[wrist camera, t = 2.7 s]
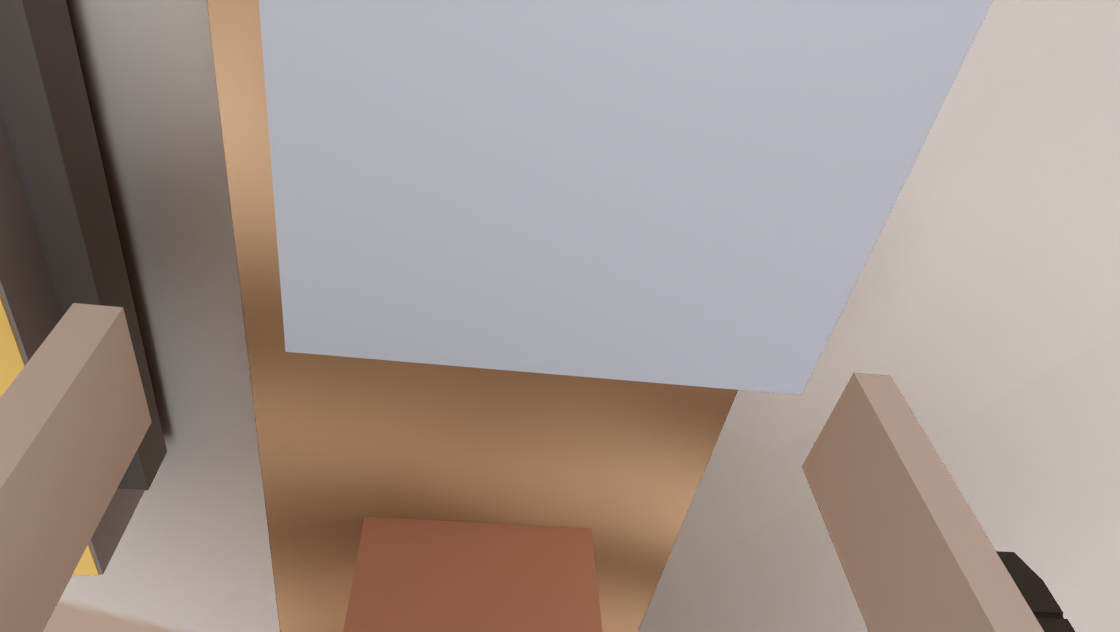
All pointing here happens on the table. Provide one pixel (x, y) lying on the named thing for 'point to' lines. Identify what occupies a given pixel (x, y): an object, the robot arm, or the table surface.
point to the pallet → (436, 419)
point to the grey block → (594, 176)
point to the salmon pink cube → (472, 578)
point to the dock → (60, 226)
